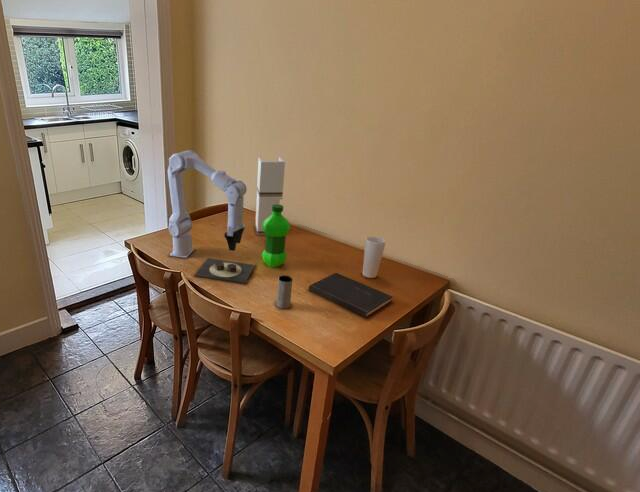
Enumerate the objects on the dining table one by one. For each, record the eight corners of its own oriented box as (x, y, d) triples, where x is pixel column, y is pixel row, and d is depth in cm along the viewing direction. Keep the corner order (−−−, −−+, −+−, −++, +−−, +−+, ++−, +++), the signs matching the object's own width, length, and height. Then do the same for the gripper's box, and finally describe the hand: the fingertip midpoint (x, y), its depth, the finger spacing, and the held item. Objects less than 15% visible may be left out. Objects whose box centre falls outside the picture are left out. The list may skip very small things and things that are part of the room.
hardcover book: (335, 277, 157) (335, 272, 156) (391, 302, 141) (392, 296, 140) (308, 291, 148) (308, 285, 147) (365, 318, 132) (366, 312, 131)
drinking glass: (378, 272, 161) (385, 237, 154) (378, 280, 155) (385, 244, 148) (360, 270, 163) (366, 235, 156) (360, 278, 157) (366, 242, 150)
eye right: (228, 267, 164) (228, 263, 163) (237, 269, 163) (237, 264, 162) (226, 271, 161) (226, 267, 160) (234, 273, 160) (235, 268, 159)
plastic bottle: (288, 261, 170) (293, 203, 160) (282, 272, 162) (286, 211, 151) (265, 257, 174) (269, 200, 164) (257, 267, 166) (260, 208, 155)
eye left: (216, 266, 165) (216, 261, 164) (225, 267, 164) (225, 262, 163) (213, 269, 162) (213, 265, 161) (222, 271, 161) (222, 266, 160)
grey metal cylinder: (275, 301, 142) (277, 275, 137) (288, 301, 142) (290, 275, 137) (278, 309, 137) (280, 282, 133) (291, 308, 138) (294, 281, 133)
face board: (208, 259, 173) (208, 257, 172) (254, 266, 167) (254, 264, 166) (194, 276, 159) (194, 274, 159) (244, 284, 153) (245, 282, 153)
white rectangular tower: (279, 235, 196) (284, 162, 182) (257, 235, 197) (260, 162, 182) (276, 226, 207) (281, 156, 192) (255, 226, 207) (258, 156, 192)
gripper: (240, 221, 148) (239, 255, 154) (250, 209, 161) (249, 240, 166) (222, 219, 150) (221, 252, 156) (233, 207, 163) (232, 238, 169)
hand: (234, 246), depth 161 cm, fingers open, 7 cm apart
